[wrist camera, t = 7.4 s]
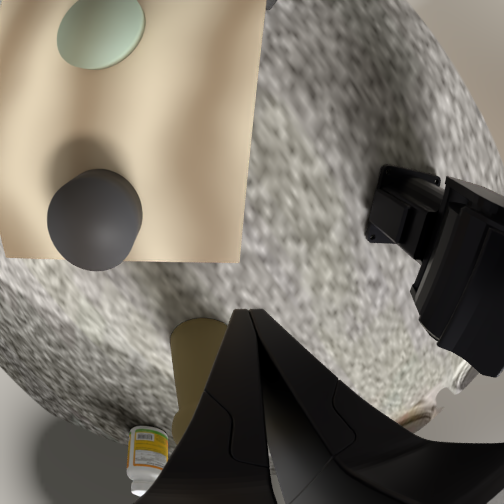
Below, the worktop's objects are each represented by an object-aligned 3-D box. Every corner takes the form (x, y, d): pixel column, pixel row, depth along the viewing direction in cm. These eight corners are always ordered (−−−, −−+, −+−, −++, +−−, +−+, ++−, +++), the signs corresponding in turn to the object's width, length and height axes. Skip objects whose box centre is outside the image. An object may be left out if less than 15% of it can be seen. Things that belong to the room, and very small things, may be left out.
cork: (158, 346, 26) (150, 453, 16) (195, 306, 24) (198, 424, 14) (209, 371, 28) (219, 470, 19) (249, 336, 27) (273, 443, 17)
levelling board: (266, -33, 11) (280, -59, 7) (236, 250, 19) (243, 281, 16) (15, -4, 8) (-13, -15, 5) (15, 247, 16) (-8, 273, 13)
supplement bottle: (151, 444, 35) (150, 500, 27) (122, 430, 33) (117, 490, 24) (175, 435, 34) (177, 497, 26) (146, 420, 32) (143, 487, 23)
